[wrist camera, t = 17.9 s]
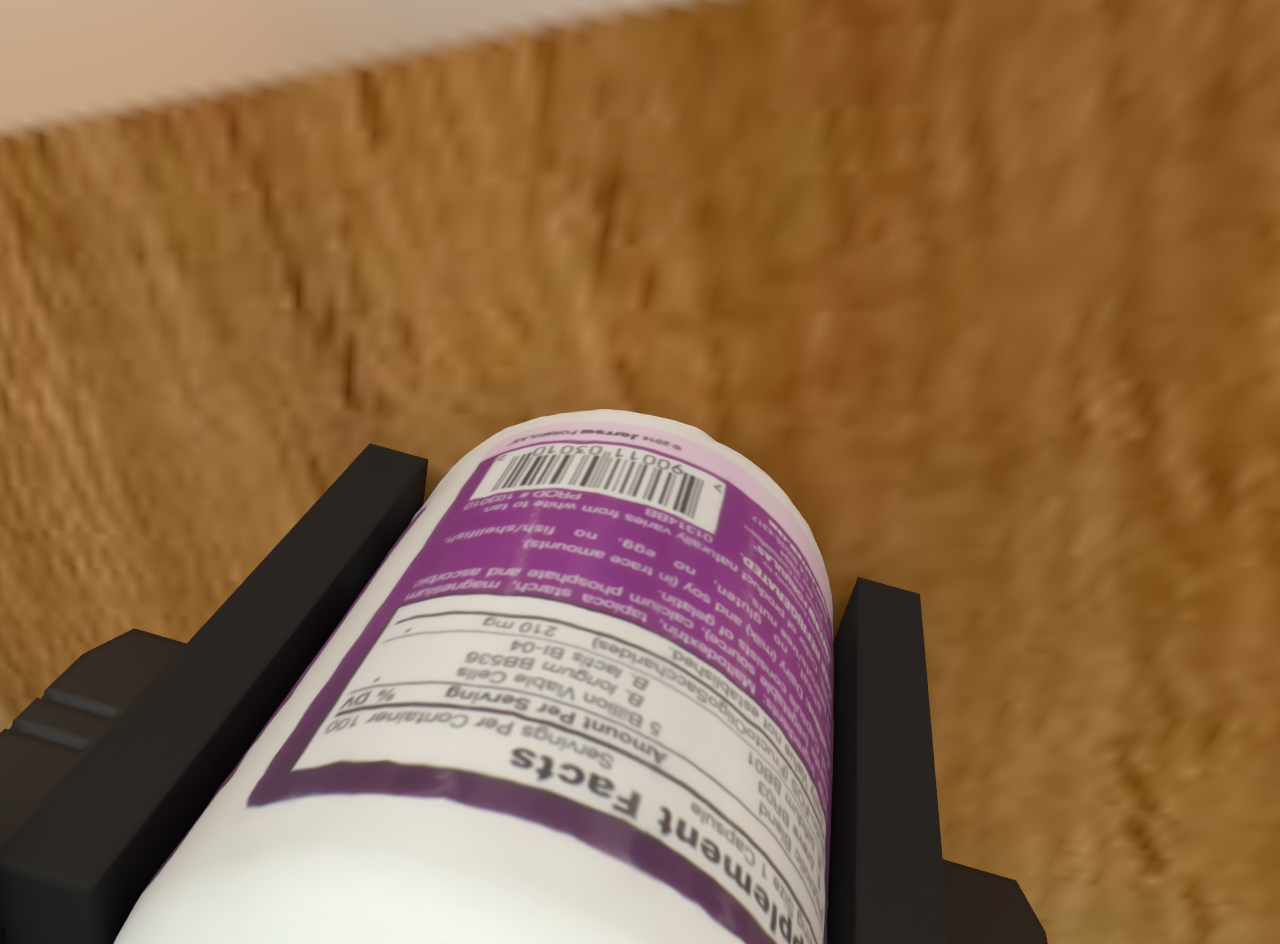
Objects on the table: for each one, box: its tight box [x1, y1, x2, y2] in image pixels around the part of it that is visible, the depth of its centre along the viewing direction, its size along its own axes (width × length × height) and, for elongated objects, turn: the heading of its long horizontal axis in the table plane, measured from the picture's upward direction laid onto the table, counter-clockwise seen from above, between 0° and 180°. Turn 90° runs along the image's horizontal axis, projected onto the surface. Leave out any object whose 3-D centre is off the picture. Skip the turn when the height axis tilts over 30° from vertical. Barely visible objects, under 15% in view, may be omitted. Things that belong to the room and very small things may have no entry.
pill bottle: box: [114, 409, 834, 944], centre depth 9 cm, size 5×5×10 cm
